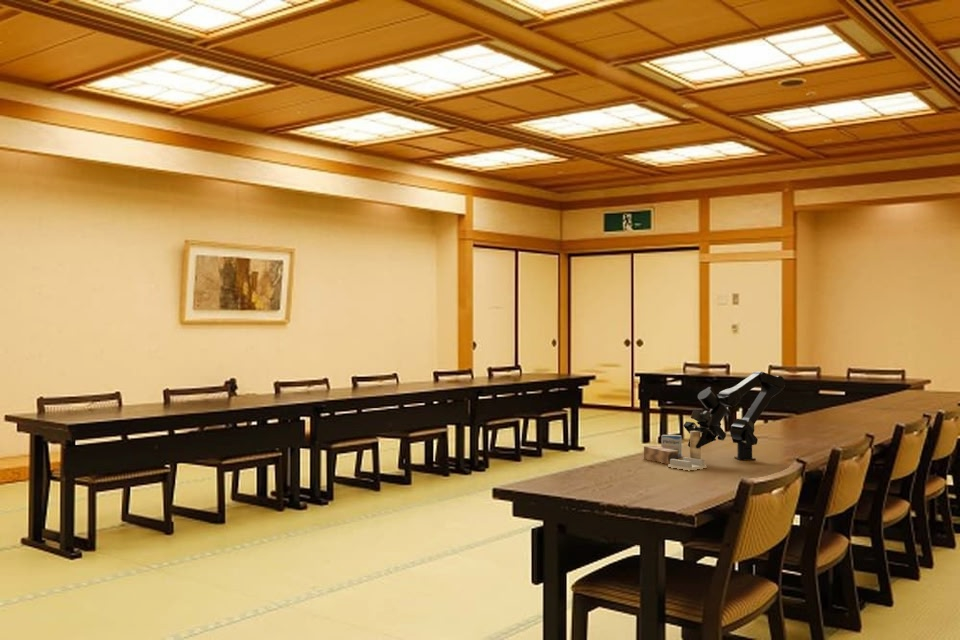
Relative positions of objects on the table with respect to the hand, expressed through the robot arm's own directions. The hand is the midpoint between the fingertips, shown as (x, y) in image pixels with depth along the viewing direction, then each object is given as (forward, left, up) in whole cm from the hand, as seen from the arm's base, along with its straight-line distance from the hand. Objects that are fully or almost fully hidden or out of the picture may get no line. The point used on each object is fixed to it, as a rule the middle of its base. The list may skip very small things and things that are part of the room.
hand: (692, 447), depth 345 cm
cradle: (+9, -6, -7) cm, 12 cm away
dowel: (0, +1, -7) cm, 7 cm away
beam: (-8, -10, -7) cm, 14 cm away
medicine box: (-20, -1, -7) cm, 22 cm away
